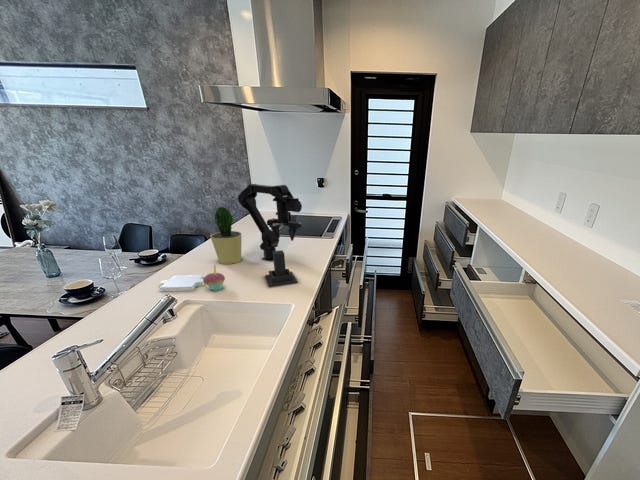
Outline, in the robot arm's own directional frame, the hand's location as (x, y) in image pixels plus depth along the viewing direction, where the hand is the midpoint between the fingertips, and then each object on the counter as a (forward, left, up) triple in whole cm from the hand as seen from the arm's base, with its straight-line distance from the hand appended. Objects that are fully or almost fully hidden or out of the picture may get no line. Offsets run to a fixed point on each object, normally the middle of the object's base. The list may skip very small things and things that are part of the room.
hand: (285, 239), depth 163 cm
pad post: (+13, -21, -12) cm, 27 cm away
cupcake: (-6, -42, -13) cm, 44 cm away
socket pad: (+13, -21, -13) cm, 28 cm away
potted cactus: (-29, -13, -13) cm, 34 cm away
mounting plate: (-22, -46, -13) cm, 53 cm away
